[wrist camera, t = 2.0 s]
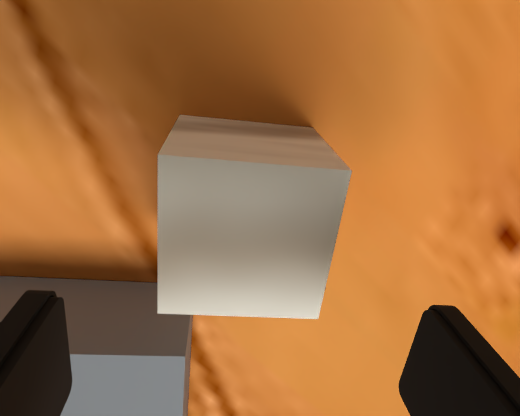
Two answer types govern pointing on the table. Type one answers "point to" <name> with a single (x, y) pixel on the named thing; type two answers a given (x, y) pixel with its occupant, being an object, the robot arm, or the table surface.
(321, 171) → the cream cube
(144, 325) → the base block
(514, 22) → the table surface
